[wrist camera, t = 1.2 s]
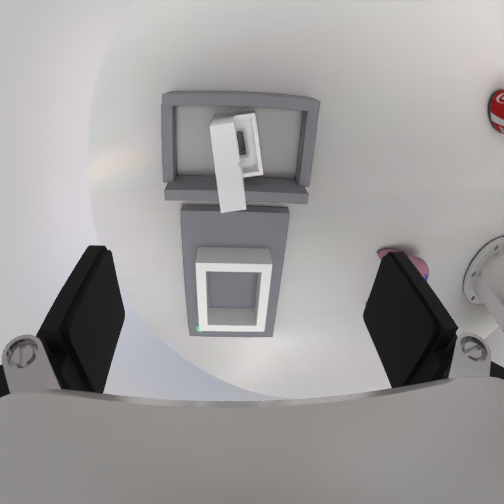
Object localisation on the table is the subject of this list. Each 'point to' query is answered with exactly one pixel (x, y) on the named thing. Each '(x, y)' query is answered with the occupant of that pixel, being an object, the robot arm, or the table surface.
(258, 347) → the table surface
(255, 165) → the white angled block
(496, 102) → the beverage can
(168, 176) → the gray rectangular frame
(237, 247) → the port block
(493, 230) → the table surface
